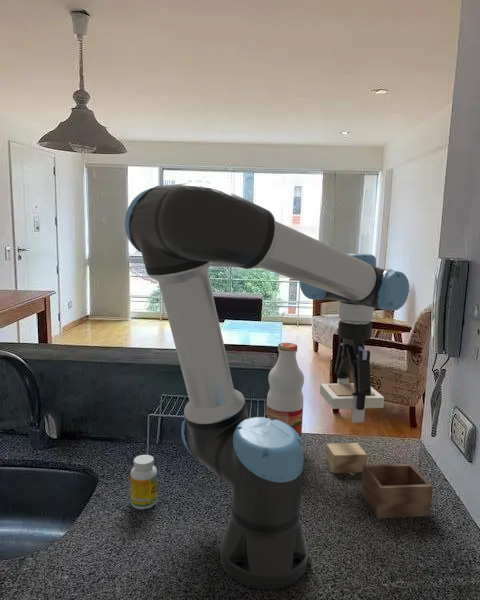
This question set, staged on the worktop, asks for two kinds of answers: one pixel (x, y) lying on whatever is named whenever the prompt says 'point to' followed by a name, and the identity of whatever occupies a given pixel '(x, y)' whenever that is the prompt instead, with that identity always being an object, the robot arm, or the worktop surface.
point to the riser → (345, 457)
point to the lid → (348, 396)
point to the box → (396, 490)
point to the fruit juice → (286, 389)
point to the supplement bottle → (143, 482)
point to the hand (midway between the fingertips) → (349, 412)
